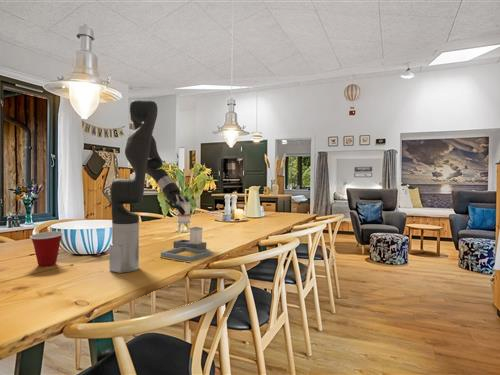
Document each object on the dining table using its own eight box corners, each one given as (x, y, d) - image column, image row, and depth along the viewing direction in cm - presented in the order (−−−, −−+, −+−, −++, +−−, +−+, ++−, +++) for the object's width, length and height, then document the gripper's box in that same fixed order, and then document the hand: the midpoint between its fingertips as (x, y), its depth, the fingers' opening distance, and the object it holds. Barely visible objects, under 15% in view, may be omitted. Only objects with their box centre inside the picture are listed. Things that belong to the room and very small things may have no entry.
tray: (189, 263, 131) (190, 257, 131) (160, 258, 139) (160, 252, 139) (211, 256, 143) (211, 250, 143) (183, 252, 151) (183, 246, 151)
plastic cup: (22, 266, 123) (22, 234, 123) (48, 260, 133) (48, 230, 133) (44, 269, 119) (44, 236, 119) (69, 262, 130) (69, 232, 129)
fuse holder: (196, 253, 149) (196, 244, 149) (173, 249, 156) (173, 241, 156) (206, 250, 155) (206, 242, 155) (183, 247, 162) (183, 239, 162)
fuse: (196, 250, 151) (196, 228, 150) (189, 249, 153) (189, 227, 152) (202, 249, 154) (202, 227, 154) (195, 247, 156) (195, 226, 156)
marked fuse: (184, 223, 154) (184, 202, 154) (177, 223, 156) (177, 201, 156) (190, 222, 158) (190, 201, 157) (183, 222, 160) (183, 201, 159)
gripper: (161, 181, 154) (181, 209, 148) (182, 182, 166) (201, 207, 160) (153, 193, 157) (172, 220, 151) (174, 192, 169) (192, 217, 163)
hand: (187, 213), depth 156 cm, fingers closed on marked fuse, 4 cm apart
